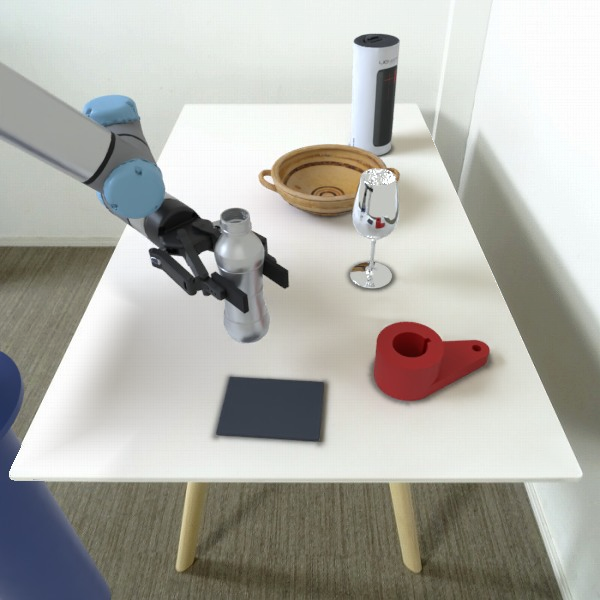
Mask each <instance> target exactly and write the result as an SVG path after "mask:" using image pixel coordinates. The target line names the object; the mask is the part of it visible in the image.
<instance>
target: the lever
mask: <svg viewBox="0 0 600 600" xmlns="http://www.w3.org/2000/svg"><path fill="white" fill-rule="evenodd" d="M490 352H491V350H490V346H489V345H488V344H487V343H486V342H484V341H482V340H479V339H463V340H461V339H460V340H443V338H442V337H441V335H439V333H438V332H437V331H435V330H434V329H433V328H431V327H430V326H427V325H426V324H422V323H419V322H416V321H398V322H394V323H391V324H389V325H388V324H387V326H385V327H384V328H382V329H381V330H380V331H379V333H378V334H377V337H376V341H375V353H374V363H373V379H374V383H375V384H376V386H377V387H378V388H379V390H380V391H381V392H382V393H384V394H385V395H387V396H388V397H391V398H393V399H395V400H399V401H403V402H404V401H405V402H414V401H415V402H416V401H421V400H423V399H426V398H427V397H429V396H431V395H433V394H435V393H437V392H438V391H441V390H442V389H444V388H445V387H447V386H450V385H452V384H453V383H455V382H457V381H459V380H460V379H462V378H464V377H466V376H468V375H470V374H471V373H473V372H475V371H476V370H479V369H480V368H482V367H484V366H485V365H486V364H487V362H488V359H489V356H490Z"/></svg>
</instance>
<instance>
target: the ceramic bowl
mask: <svg viewBox="0 0 600 600" xmlns="http://www.w3.org/2000/svg"><path fill="white" fill-rule="evenodd" d="M377 168H378V169H386V170H389V171H391V172H393V173H394V174H395V176H396V181H397V183H398V182H399V181H400V177H401V173H400V171H399V170H398V169H397V168H395V167H387V165H386V163H385V162H384V161H383V159H381V157H380V156H376V155H375V154H373V153H371V152H369V151H366V150H364V149H361V148H357V147H353V146H350V145H348V144H338V143H323V144H322V143H321V144H313V145H307V146H303V147H298V148H295V149H292V150H290V151H289V152H286V153H285V154H283V155H281V156H280V157H278V158H277V160H276V161H275V162H274V163H273V164H272V166H271V169H263V170H262V171H260V172H259V174H258V181H259V183H260V185H262V186H263V187H265V188H266V189H268V190H270V191H272V192H275V193H277V194H279V196H280V197H281V198H282V199H283V200H284V201H285V202H287V204H289V205H291V206H292V207H294V208H295V209H298V210H300V211H303V212H306V213H310V214H314V215H317V216H320V217H335V216H336V217H337V216H341V215H345V214H347V213H352V209H353V203H354V198H355V194H356V190H357V187H358V184H359V180H360V177H361V174H362V173H363V172H365V171H366V170H369V169H377ZM267 176H268V177H271V179H272V182H273V183H271V182H269V181H267V180H266V179H265V178H264V177H267Z"/></svg>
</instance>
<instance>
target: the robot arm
mask: <svg viewBox="0 0 600 600" xmlns="http://www.w3.org/2000/svg"><path fill="white" fill-rule="evenodd" d="M82 108H83V109H82V111H80V110H78V109H77V108H75V107H74V106H72V105H71V104H70V103H68V102H66V101H64V100H63V99H61V98H59V97H58V96H56V95H55V94H53V93H52V92H50V91H48V90H46V89H45V88H44V87H42V86H40V85H39V84H37V83H36V82H34V81H32V80H30V79H29V78H28V77H26V76H24V75H22V74H21V73H19V72H18V71H16V70H15V69H14V68H12V67H10V66H8V65H6V63H3V62H2V61H0V141H2V142H4V143H6V144H8V145H9V146H11V147H14V148H15V149H18V151H21V152H22V153H24V154H26V155H28V156H30V157H32V158H34V159H36V160H38V161H40V162H42V163H44V164H45V165H47V166H49V167H51V168H53V169H55V170H57V171H59V172H61V173H63V174H64V175H66V176H68V177H69V178H72V179H74V180H76V181H78V182H79V183H82V184H83V185H85V186H87V187H89V188H91V189H92V190H94V191H95V193H96V197H97V199H98V201H99V202H100V204H102V206H104V207H105V209H107V210H108V212H109V213H111V215H113V216H115V217H117V218H118V219H119V220H121V221H123V222H124V223H125V224H127V225H128V226H129V227H131V228H132V229H134V230H135V231H136V232H138V233H139V234H140V235H142V236H143V237H145V238H146V239H147V240H149V241H150V242H151V243H152V244H153V245H155V246H156V247H151V248H149V249H148V255H149V258H150V259H149V260H150V262H151V266H152V267H154V268H156V269H159V270H161V271H163V272H164V273H165V274H166V275H167V276H168V277H169V278H170V279H171V280H172V281H173V282H174V283H176V284H177V286H179V288H181V290H183V292H185V293H186V294H187V295H188V296H191V297H193V296H196V295H197V294H198V292H199V291H201V292H202V295H203V296H204V297H209V296H212V297H214V299H216V300H218V301H220V302H222V301H224V299H226V300H227V301H228V302H230V303H231V304H232V305H234V306H235V307H236V308H238V309H239V310H240V311H241V312H243V313H244V314H245V313H247V312H248V311H249V304H248V295H247V294H246V293H245V292H243V291H242V290H240V289H239V288H238V287H236V286H235V285H233V284H232V283H231V282H229V281H228V280H227V279H225V278H224V277H222V276H221V275H220V273H218V272H217V271H216V270H215V271H213V272H211V273H210V272H209V271H208V270H207V268H206V266H205V264H204V263H203V261H202V259H201V258H200V256H199V255H201V254H202V253H204V252H207V251H208V252H211V253H214V250H215V245H216V243H217V241H218V239H219V237H220V236H221V234H222V231H221V226H220V225H221V221H220V219H218V220H215V221H212V220H210V219H206V218H203V217H201V216H200V215H199V214H198V213H197V211H196V210H194V209H193V208H192V207H191V206H189V205H187V204H186V203H184V202H183V201H181V200H180V199H178V198H177V197H175V196H174V195H172V194H170V193H169V192H167V191H166V184H165V182H164V176H163V172H162V170H161V168H160V167H159V166H158V164H157V162H156V159H155V158H154V155H153V153H152V150H151V148H150V145H149V144H148V141H147V139H146V137H145V135H144V131H143V128H142V123H141V116H140V114H139V112H138V108H137V105H136V101H134V99H132V98H131V97H129V96H127V95H122V94H107V95H102V96H97V97H95V98H92V99H90V100H89V101H87V102H86V103H85V104H84V106H83V107H82ZM251 231H252V232H253V233H254V234H255V235H256V236H257V237H258V238H259V239H260V240H261V242H262V245H263V247H264V264H263V276H264V277H266V278H267V279H269V280H270V281H272V282H273V283H275V285H278V286H279V287H280V288H282V289H284V290H286V289H288V288H289V287H290V279H289V270H288V269H287V268H285V267H284V266H282V265H281V264H279V263H278V260H277V259H276V257H274V256H273V255H271V254H270V253H269V251H268V249H269V247H268V238H267V237H265V236H263V235H262V234H259V233H258V232H256V231H254V230H253V229H251ZM173 256H174V257H182V258H183V260H184V261H185V263H186V265H187V266H188V267H189V269H190V270H191V272H192V273H191V272H190V271H189V270H188V269H186V268H185V267H184V266H183V265H182V264H181V263H180V262H179V261H177V260H176V259H175V258H174V257H173Z"/></svg>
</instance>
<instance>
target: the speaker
mask: <svg viewBox="0 0 600 600" xmlns="http://www.w3.org/2000/svg"><path fill="white" fill-rule="evenodd" d="M400 42H401V40H400V38H399V37H397V36H395V35H393V34H388V33H366V34H361V35H359V36H356V37H355V38H354V39H353V50H352V82H351V83H352V85H351V88H352V89H351V112H350V113H351V115H350V118H351V119H350V141H349V142H350V143H349V144H350V145H349V146H353V147H357V148H361V149H364V150H366V151H369V152H371V153H373V154H375V155H376V156H378V157H380V156H384V155H387V154H388V153H389V152H390V151H391V150H392V142H393V131H394V130H393V127H394V118H395V117H394V116H395V104H396V93H397V92H396V90H397V78H398V65H399V55H400Z"/></svg>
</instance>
